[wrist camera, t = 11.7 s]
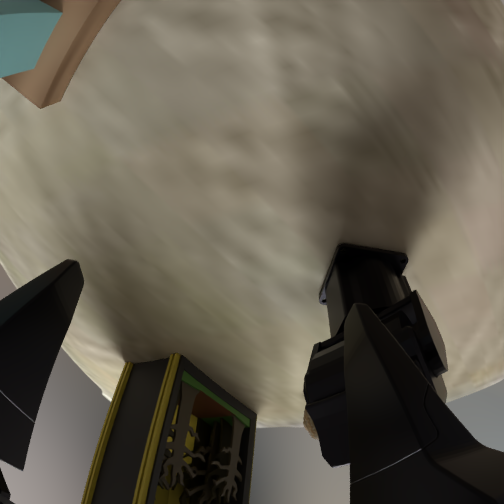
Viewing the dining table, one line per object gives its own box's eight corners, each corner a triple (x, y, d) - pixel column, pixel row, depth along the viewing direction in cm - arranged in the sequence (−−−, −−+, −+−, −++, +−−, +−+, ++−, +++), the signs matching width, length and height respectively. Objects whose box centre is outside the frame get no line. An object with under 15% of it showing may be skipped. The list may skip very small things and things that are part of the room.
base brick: (121, -1, 13) (102, -5, 11) (60, 101, 17) (40, 108, 15) (50, -34, 9) (31, -37, 7) (3, 57, 14) (-17, 62, 12)
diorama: (258, 415, 44) (242, 580, 20) (206, 420, 48) (183, 566, 24) (179, 352, 34) (127, 587, 10) (124, 362, 38) (69, 551, 14)
